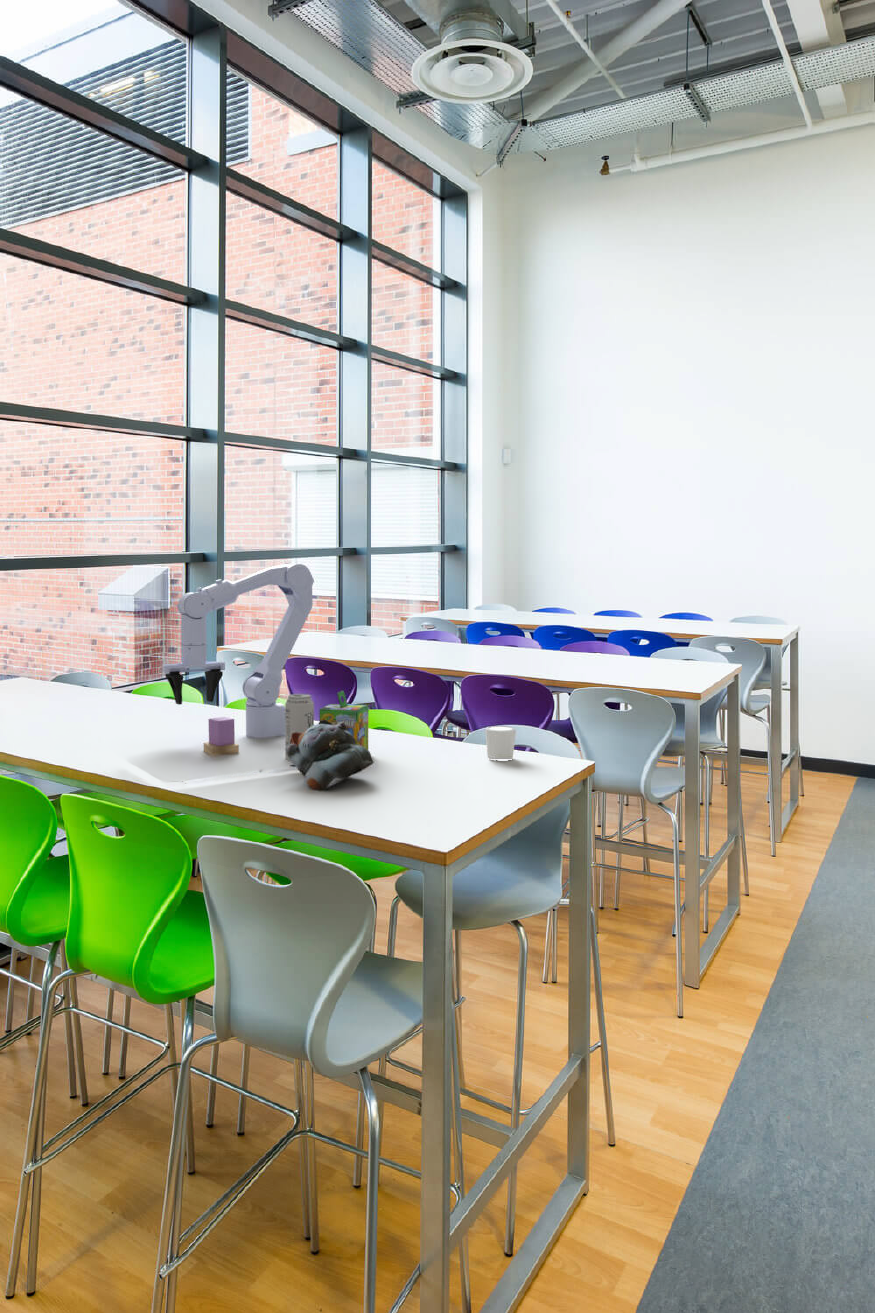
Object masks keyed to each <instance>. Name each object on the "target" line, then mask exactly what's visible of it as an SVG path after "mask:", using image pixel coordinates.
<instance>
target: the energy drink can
mask: <svg viewBox="0 0 875 1313" xmlns="http://www.w3.org/2000/svg"><path fill="white" fill-rule="evenodd" d="M284 706H285V736H284V738H285V741H284V743H285V744H284V745H285V748H286V747H287V746H288V744H289V743H290V741H291V737H292V736H291V734H292V733H294V732H298V733H303V732H304V731H305V730H306V729H308V728H309V727H311V726H313V725H315V723H314V722H315V719H314V718H315V717H314V716H315V703H314V701H313V698H312V695H311V694H307V693H293V694H292V693H291V694H288V698H287V700H286V701H285V705H284ZM285 748H284V749H285ZM284 755H285V760H287V761H290V759H289V757H288V756H287V754H286V752H285V754H284ZM289 767H295V765H294V764H291V765H289ZM295 768H296V767H295Z"/></svg>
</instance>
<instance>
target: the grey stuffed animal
mask: <svg viewBox="0 0 875 1313" xmlns="http://www.w3.org/2000/svg"><path fill="white" fill-rule="evenodd" d="M291 736H292V737H291V741H290V743H289V744H288V746H287V747H286V748H284V751H285V752H286V754H287V756H288V757H289V759H290V760H289V761H290V762H291V763H292V765H295V768H296V769H297V771H299V772H300V774H301V775H302V776H303V777H304V779H305V781H306V785H307V786H308V787H309V788H310V789H311V790H315V791H316V790H317V791H321V792H322V791H323V792H325V791H326V790H328V789H329V788H330V787H332V786H334V785H336V784H338V783H340V782H341V781H344V780H345V779H347V778H349V777H351V776H353V775H356V774H358V773H360V772H362V771H363V770H366V769H367V768H368V767H371V765H373V764H374V759H373V756H372V754H371V752H370V751H369V749H368V750H367V749H366V748H365V747H363V746H360V745H356V741H355V738H354V737H353V735H352V734H351V733H350V732H349V731H347V728H346V725H345V724H344V723H343V722H340V723H338V724H337V725H335V726H334V725H332V724H331V723H329V722H328V721H327V720H324V719H323V720H321V721H320V720H319V721H318V723H316V724H314V725H313V726H311V727H309V728H308V729H306V730H305V731H304V732H303V733H298V732H294V733H292V734H291Z"/></svg>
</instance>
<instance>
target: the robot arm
mask: <svg viewBox="0 0 875 1313" xmlns="http://www.w3.org/2000/svg"><path fill="white" fill-rule="evenodd" d="M214 582H215V583H213V584H210V585H208V586H205V587H197V588H196V589H195V590H196V591H195V592H186V593H184V594H183V595H182V596H181V597H180V598H179V600H178V603H177V605H176V608H177V611H178V612H179V613H180V621H181V623H180V653H181V654H180V655H181V658H180V660H181V662H177V663H169V664H167V663H166V664H162V665H161V673H162V674H164V675H165V679H166V680H167V682H168V683H169V686H170V688H171V691H172V693H173V697H174V702H175V704H176V705H183V681H184V676H183V675H182V674H181V673H196V672H204V677H205V683H206V684H205V685H206V702H209V703H212V702H214V699H215V695H216V691H217V688H218V685H219V683H220V680H221V679H222V677H223V672H224V671H225V670H226V661H221V660H220V661H208V660H207V659H208V656H207V655H208V654H207V649H208V647H207V641H208V640H207V639H208V638H207V615H208V614H209V612H212V613H213V611H216V610H219V609H221V608H225V607H226V606H230V605H232V604H235V603H236V601H237V600H238V598H239V596H240V595H243V594H245V593H249V592H250V591H255V590H257V589H260V588H262V587H265V586H268V585H270V586H277V587H278V588H279V590H281V592H282V593H283V594H284V595H285V598H286V600H287V603H288V607H287V608H286V611H285V613H284V615H283V617H282V619H281V621H280V624H279V625H278V628H277V630H276V632H275V634H274V636H273V638H272V640H271V642H270V644H269V646H268V649H267V650H266V652H265V654H264V657H263V658H262V661H261V662H260V663H259V664H258V665H256V666H255V668H254V669H253V670H252V673H251V674H249V676H248V677H247V678H246V679H244V682H243V684H242V693H243V695H244V696H245V697H246V701H245V736H246V737H247V738H254V739H266V738H273V737H279V736H284V737H285V705H284V704H283V703H281V702H277V701H278V699H279V695H280V689H281V688H280V686H281V683H282V681H283V676H282V675H283V674H282V672H283V669H284V667H285V665H286V663H287V661H288V658H289V656H290V655H291V652H292V650H293V647H294V646H295V644H296V642H297V640H298V638H299V635H300V633H301V632H302V629H303V628H304V625H305V622H306V621H307V619H308V618H309V615H310V613H311V610H312V609H313V608H312V607H313V604H314V603H313V585H314V583H315V580H314V578H313V574H312V572H311V571H310V569H309V568H308V567H307V566H306V565H305V564H303V563H294V564H292V563H291V564H290V563H281V564H279V565H274V566H271V567H267V568H264V569H262V570H259V571H258V572H255V573H252V574H250V575H247V576H246V577H243V578H241V579H238V580H236V581H234V582H232V581H230V580H228V579H224V580H223V579H221V578H219V579H216V580H214Z"/></svg>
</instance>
